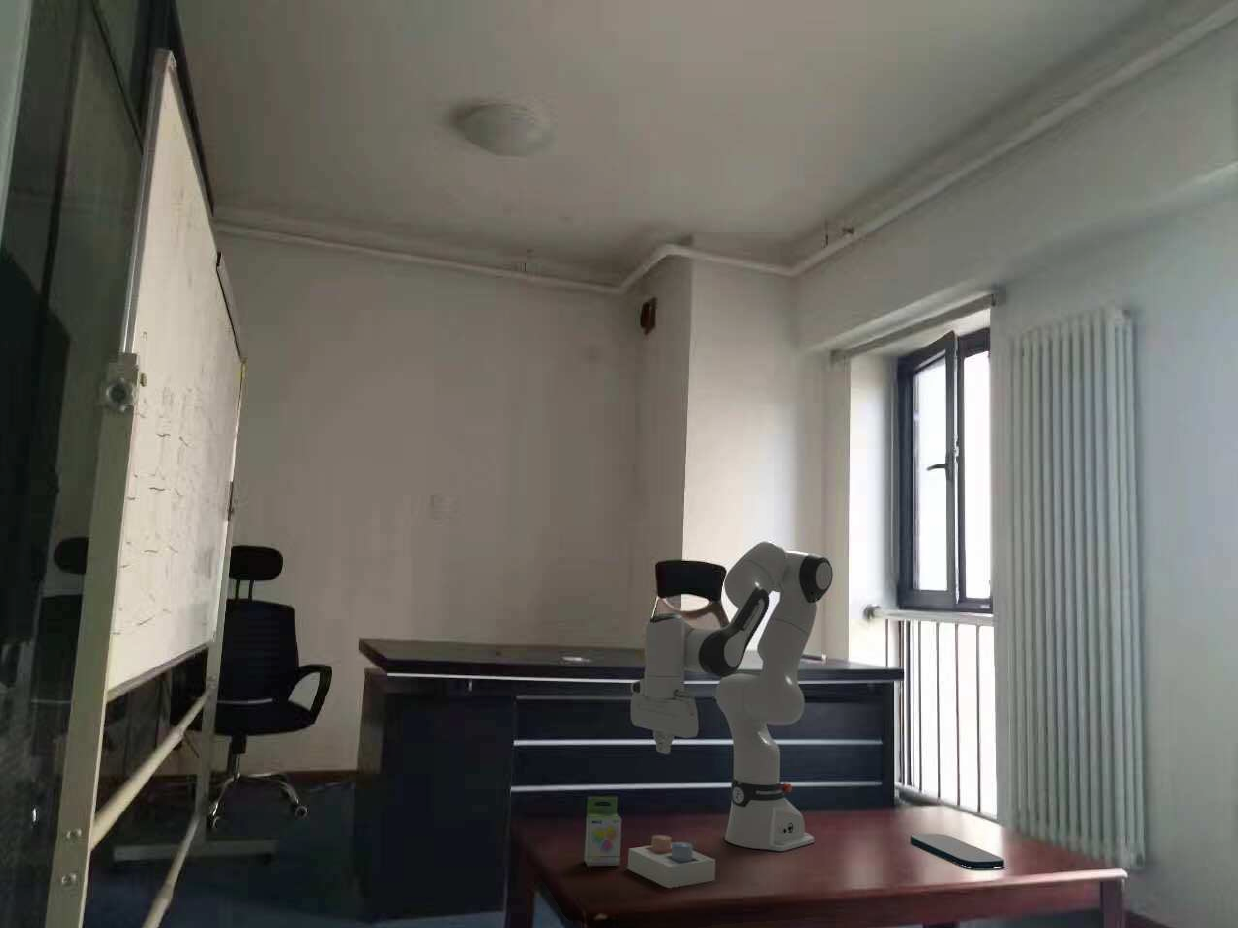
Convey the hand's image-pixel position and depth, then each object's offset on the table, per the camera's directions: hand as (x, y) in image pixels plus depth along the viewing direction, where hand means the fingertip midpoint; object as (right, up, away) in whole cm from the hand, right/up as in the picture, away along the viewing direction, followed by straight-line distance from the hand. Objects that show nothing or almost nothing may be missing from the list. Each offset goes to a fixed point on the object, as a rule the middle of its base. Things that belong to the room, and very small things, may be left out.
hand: (663, 752), depth 193 cm
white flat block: (+1, -22, -10) cm, 24 cm away
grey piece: (+3, -19, -12) cm, 23 cm away
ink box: (-13, -22, -5) cm, 26 cm away
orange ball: (-1, -20, -7) cm, 21 cm away
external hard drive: (+71, -31, +18) cm, 79 cm away
